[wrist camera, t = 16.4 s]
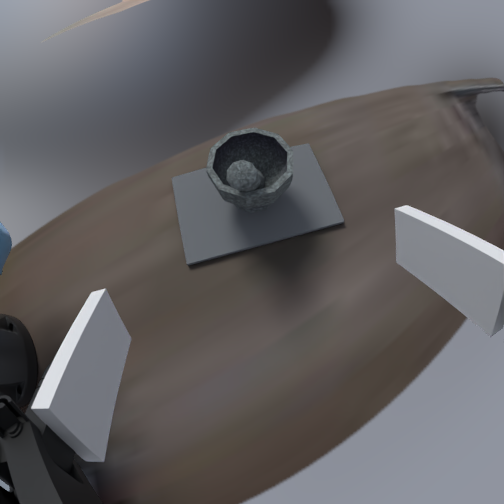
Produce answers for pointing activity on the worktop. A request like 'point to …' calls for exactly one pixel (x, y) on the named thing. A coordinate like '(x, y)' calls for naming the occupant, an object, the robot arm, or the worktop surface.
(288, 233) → the rubber mat
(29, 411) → the robot arm
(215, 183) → the mortar and pestle
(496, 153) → the worktop surface
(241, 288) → the worktop surface
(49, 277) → the worktop surface
